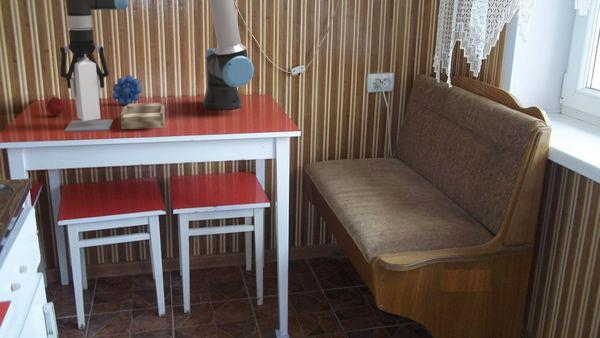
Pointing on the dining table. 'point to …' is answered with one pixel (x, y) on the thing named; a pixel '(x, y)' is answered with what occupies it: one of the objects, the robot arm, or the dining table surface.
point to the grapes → (126, 90)
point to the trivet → (89, 125)
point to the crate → (143, 116)
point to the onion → (55, 106)
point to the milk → (86, 89)
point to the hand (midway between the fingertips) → (87, 97)
